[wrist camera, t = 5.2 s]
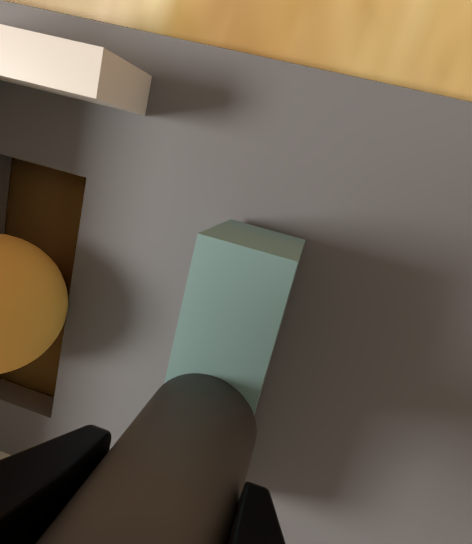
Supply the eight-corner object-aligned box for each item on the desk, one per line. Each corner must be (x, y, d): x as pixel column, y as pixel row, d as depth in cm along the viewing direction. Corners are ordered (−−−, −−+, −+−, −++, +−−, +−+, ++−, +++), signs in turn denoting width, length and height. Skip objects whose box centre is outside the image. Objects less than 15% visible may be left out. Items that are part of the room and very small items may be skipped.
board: (740, 171, 10) (785, 169, 9) (474, 660, 14) (485, 696, 13) (-45, -2, 13) (-75, -17, 12) (-72, 443, 17) (-96, 459, 16)
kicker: (313, 242, 11) (261, 497, 2) (237, 494, 13) (56, 1146, 4) (223, 217, 11) (-134, 351, 2) (164, 467, 13) (-144, 1017, 5)
